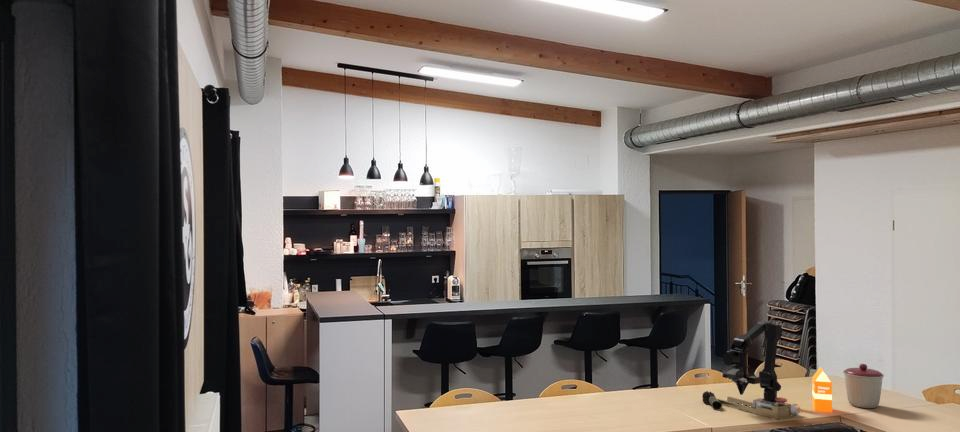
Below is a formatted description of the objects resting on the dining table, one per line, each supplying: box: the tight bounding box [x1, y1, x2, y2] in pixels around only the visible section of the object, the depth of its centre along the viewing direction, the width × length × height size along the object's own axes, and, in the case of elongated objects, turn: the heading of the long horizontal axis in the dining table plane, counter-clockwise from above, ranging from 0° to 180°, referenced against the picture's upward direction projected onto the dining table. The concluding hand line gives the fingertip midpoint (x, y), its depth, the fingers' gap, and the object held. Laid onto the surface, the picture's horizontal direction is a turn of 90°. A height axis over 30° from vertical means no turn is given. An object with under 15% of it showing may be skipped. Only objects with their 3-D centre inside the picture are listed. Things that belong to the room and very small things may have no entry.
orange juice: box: [811, 366, 833, 413], centre depth 335 cm, size 8×9×20 cm
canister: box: [842, 363, 885, 409], centre depth 342 cm, size 18×18×21 cm
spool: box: [752, 397, 778, 410], centre depth 328 cm, size 6×10×6 cm, turn 35°
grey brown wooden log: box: [702, 390, 723, 410], centre depth 344 cm, size 18×7×6 cm, turn 174°
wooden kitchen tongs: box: [717, 396, 801, 421], centre depth 335 cm, size 16×36×9 cm, turn 31°
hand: (741, 394), depth 339 cm, fingers closed
